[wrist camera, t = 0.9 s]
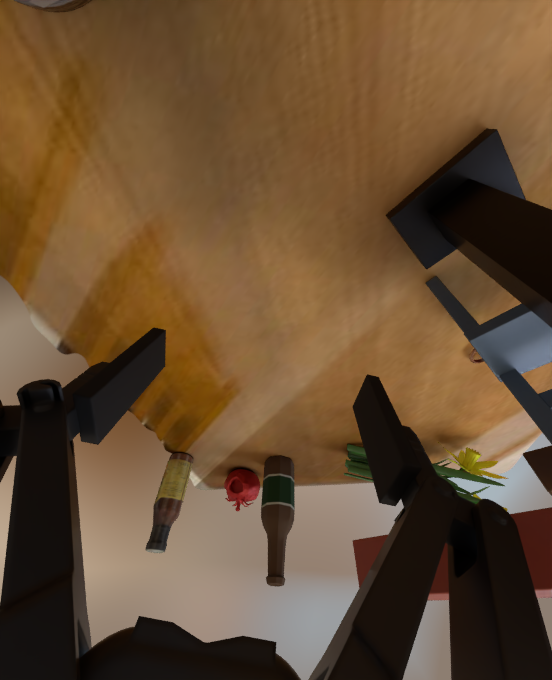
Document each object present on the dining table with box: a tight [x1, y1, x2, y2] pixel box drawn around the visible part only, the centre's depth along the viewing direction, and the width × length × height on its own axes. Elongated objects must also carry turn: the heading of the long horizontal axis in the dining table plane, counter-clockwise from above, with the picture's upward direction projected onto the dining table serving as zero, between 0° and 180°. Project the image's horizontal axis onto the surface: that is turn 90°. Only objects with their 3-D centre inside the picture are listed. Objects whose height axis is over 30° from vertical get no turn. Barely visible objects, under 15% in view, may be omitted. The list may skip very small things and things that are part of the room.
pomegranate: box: [224, 469, 260, 511], centre depth 72 cm, size 10×10×9 cm
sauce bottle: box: [146, 453, 193, 553], centre depth 62 cm, size 7×6×20 cm
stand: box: [386, 129, 552, 495], centre depth 17 cm, size 14×8×27 cm, turn 137°
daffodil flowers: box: [344, 441, 507, 511], centre depth 56 cm, size 17×15×35 cm
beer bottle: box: [261, 456, 294, 586], centre depth 60 cm, size 8×8×24 cm
